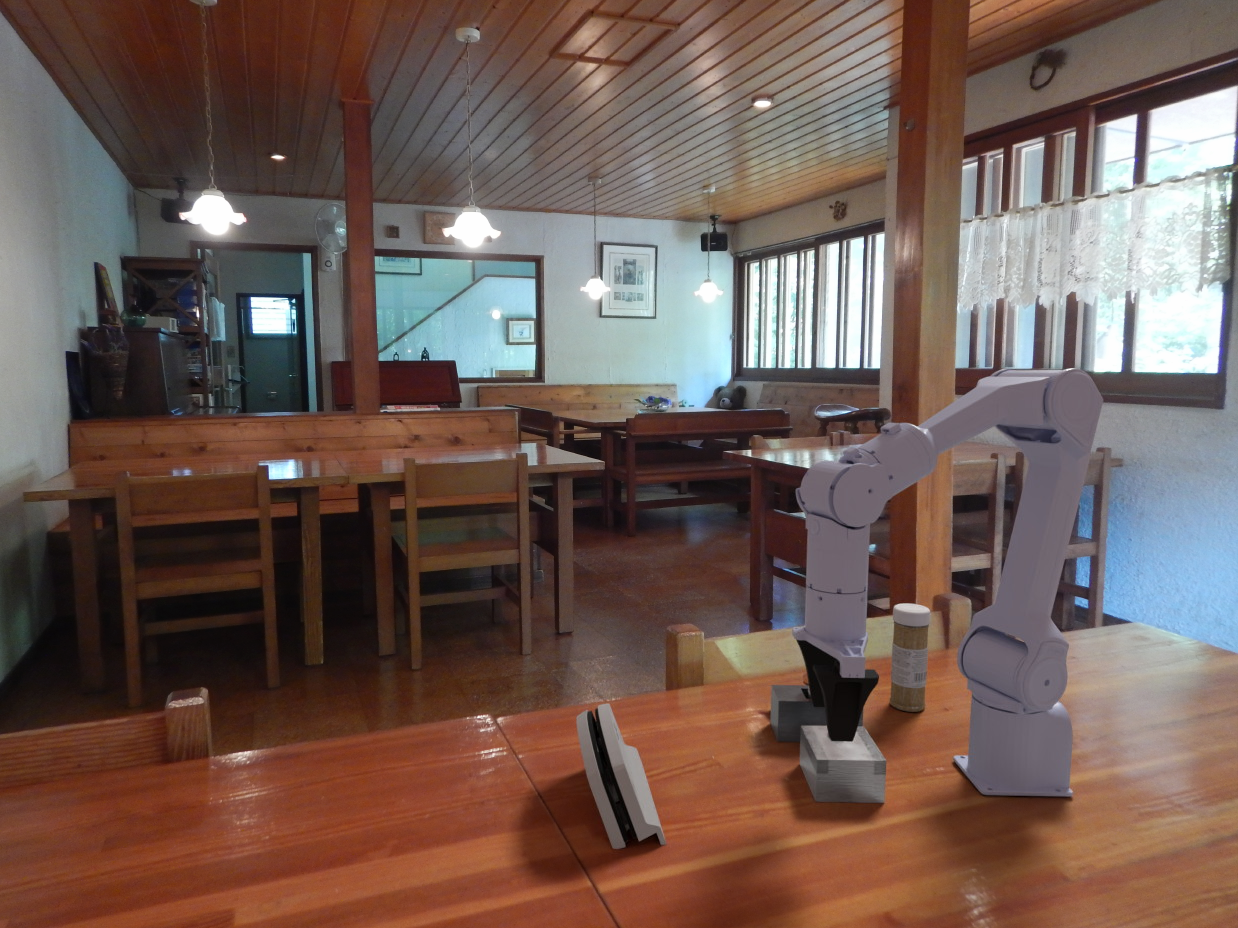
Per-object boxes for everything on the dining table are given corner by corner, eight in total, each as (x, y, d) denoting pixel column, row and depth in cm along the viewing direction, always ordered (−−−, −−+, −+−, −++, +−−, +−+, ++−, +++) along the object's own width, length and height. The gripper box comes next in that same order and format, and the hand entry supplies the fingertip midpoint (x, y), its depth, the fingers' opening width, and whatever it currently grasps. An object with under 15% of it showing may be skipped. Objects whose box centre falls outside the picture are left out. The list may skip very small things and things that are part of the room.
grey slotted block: (667, 846, 74) (631, 750, 72) (619, 865, 73) (582, 769, 72) (641, 760, 90) (611, 680, 89) (601, 775, 90) (571, 696, 88)
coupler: (873, 760, 90) (875, 718, 90) (784, 759, 91) (785, 716, 90) (839, 707, 105) (841, 670, 104) (763, 705, 105) (764, 669, 105)
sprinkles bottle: (912, 697, 108) (917, 601, 107) (932, 711, 104) (938, 611, 102) (882, 700, 107) (886, 603, 106) (901, 714, 103) (905, 613, 101)
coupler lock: (884, 802, 81) (886, 754, 81) (815, 801, 82) (817, 753, 81) (862, 764, 89) (864, 721, 89) (799, 763, 90) (800, 720, 89)
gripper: (781, 567, 84) (778, 692, 86) (809, 607, 70) (805, 755, 71) (849, 568, 84) (845, 693, 85) (891, 608, 69) (885, 757, 71)
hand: (831, 721), depth 78 cm, fingers open, 7 cm apart
